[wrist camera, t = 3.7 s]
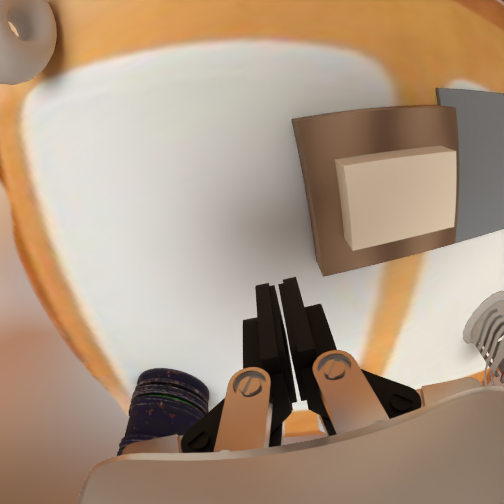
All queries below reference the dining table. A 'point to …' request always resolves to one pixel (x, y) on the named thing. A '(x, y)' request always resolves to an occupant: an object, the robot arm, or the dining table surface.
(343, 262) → the walnut board
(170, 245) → the dining table surface
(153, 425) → the storage jar
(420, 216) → the cream tile
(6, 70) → the donut
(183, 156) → the dining table surface
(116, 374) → the dining table surface
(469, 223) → the slate mat
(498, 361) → the french press
